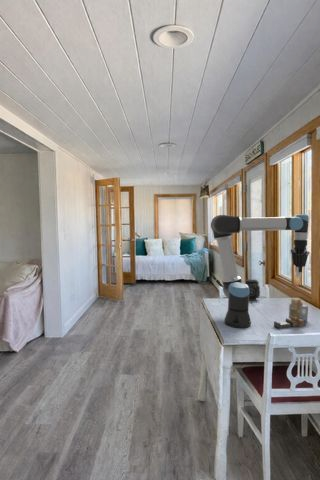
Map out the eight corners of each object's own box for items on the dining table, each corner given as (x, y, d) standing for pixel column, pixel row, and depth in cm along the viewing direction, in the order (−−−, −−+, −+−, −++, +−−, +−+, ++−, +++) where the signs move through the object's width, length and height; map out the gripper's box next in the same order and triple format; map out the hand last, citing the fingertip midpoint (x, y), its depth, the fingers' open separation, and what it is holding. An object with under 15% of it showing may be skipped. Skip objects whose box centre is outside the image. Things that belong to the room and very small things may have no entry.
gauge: (298, 313, 192) (298, 303, 191) (292, 311, 196) (293, 301, 195) (303, 313, 193) (304, 303, 193) (298, 311, 197) (298, 301, 197)
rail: (278, 328, 177) (279, 323, 176) (273, 326, 180) (274, 320, 180) (305, 325, 184) (306, 319, 184) (300, 323, 188) (300, 317, 187)
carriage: (293, 326, 179) (294, 301, 178) (285, 323, 185) (286, 298, 184) (303, 325, 182) (305, 300, 181) (296, 322, 188) (297, 297, 187)
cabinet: (298, 321, 190) (299, 307, 189) (288, 318, 197) (289, 304, 196) (307, 320, 192) (308, 306, 192) (297, 317, 199) (298, 303, 199)
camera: (260, 301, 235) (260, 282, 234) (245, 300, 237) (246, 281, 236) (258, 298, 245) (259, 279, 244) (244, 297, 247) (245, 278, 246)
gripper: (313, 240, 187) (311, 278, 189) (297, 238, 200) (295, 275, 201) (304, 240, 185) (301, 279, 186) (288, 238, 197) (285, 275, 199)
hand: (298, 277), depth 194 cm, fingers closed
